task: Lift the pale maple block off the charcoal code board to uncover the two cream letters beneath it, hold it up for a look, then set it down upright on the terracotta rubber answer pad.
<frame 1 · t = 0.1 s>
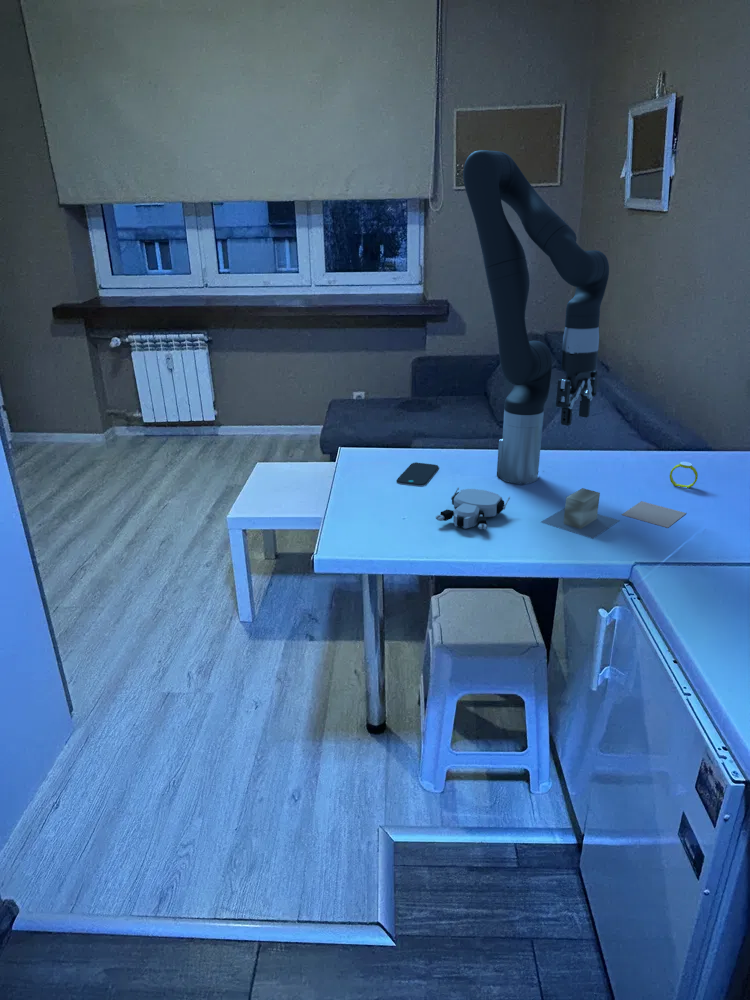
hand: (575, 420, 154), 17 cm above the table, tool pointing down, fingers open, 8 cm apart
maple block: (580, 521, 145), resting on code board
watch: (681, 487, 163), on the table
smartphone: (418, 476, 172), on the table
answer pad: (653, 514, 148), on the table
code board: (580, 522, 145), on the table
robot toy: (471, 520, 147), on the table
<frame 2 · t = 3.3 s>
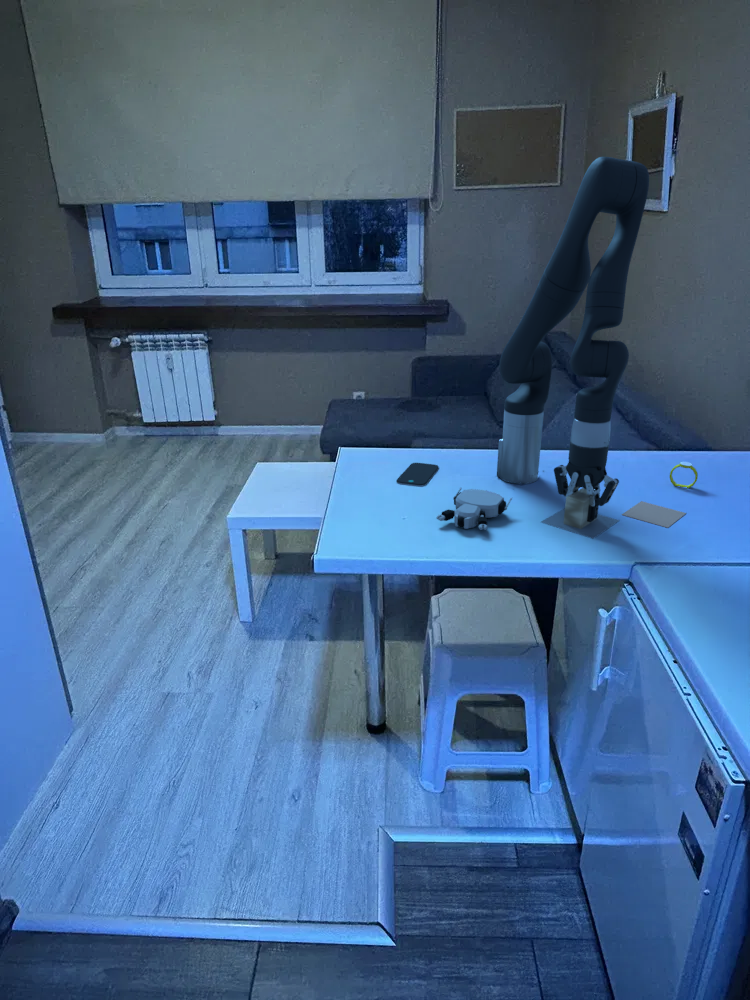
hand: (580, 517, 144), 1 cm above the table, tool pointing down, fingers closed on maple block, 4 cm apart
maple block: (580, 521, 145), resting on code board, touching gripper
everything else where it was.
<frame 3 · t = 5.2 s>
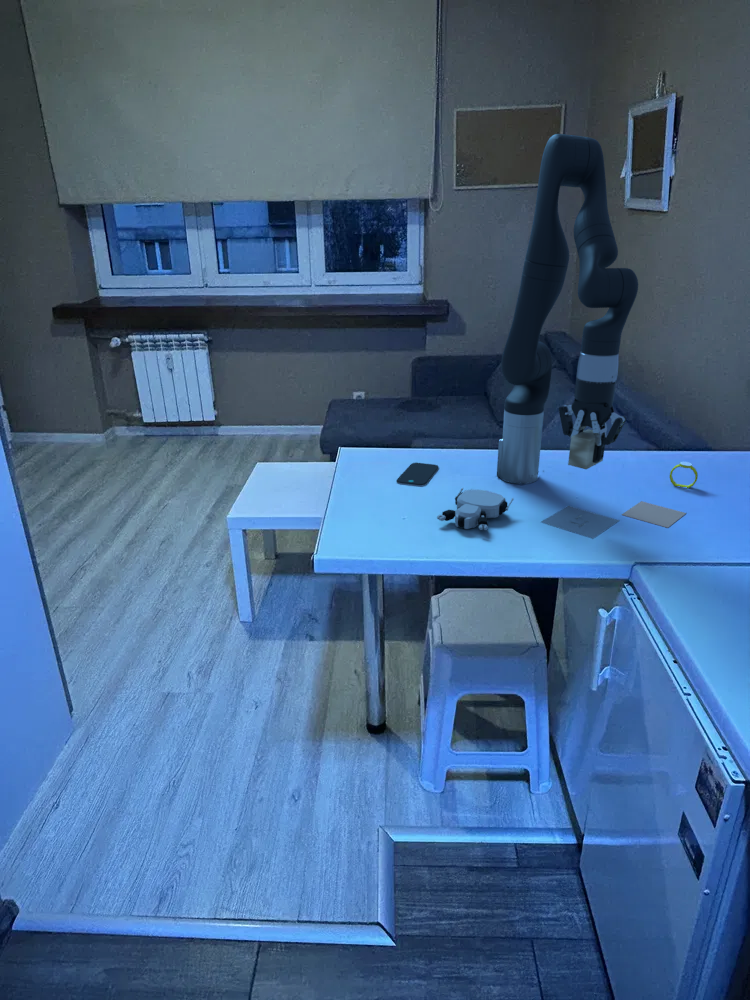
hand: (586, 458, 139), 14 cm above the table, tool pointing down, fingers closed on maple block, 4 cm apart
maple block: (585, 462, 140), point 13 cm above the table, touching gripper
everything else where it was.
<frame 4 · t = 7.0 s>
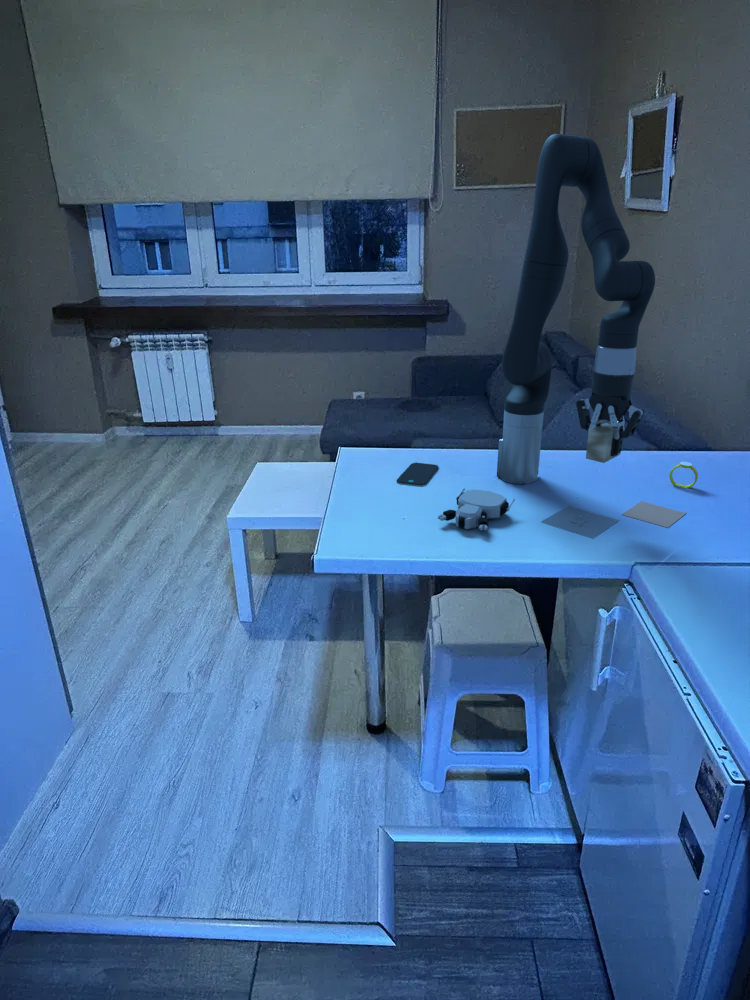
hand: (603, 452, 139), 15 cm above the table, tool pointing down, fingers closed on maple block, 4 cm apart
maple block: (603, 456, 140), point 14 cm above the table, touching gripper
everything else where it was.
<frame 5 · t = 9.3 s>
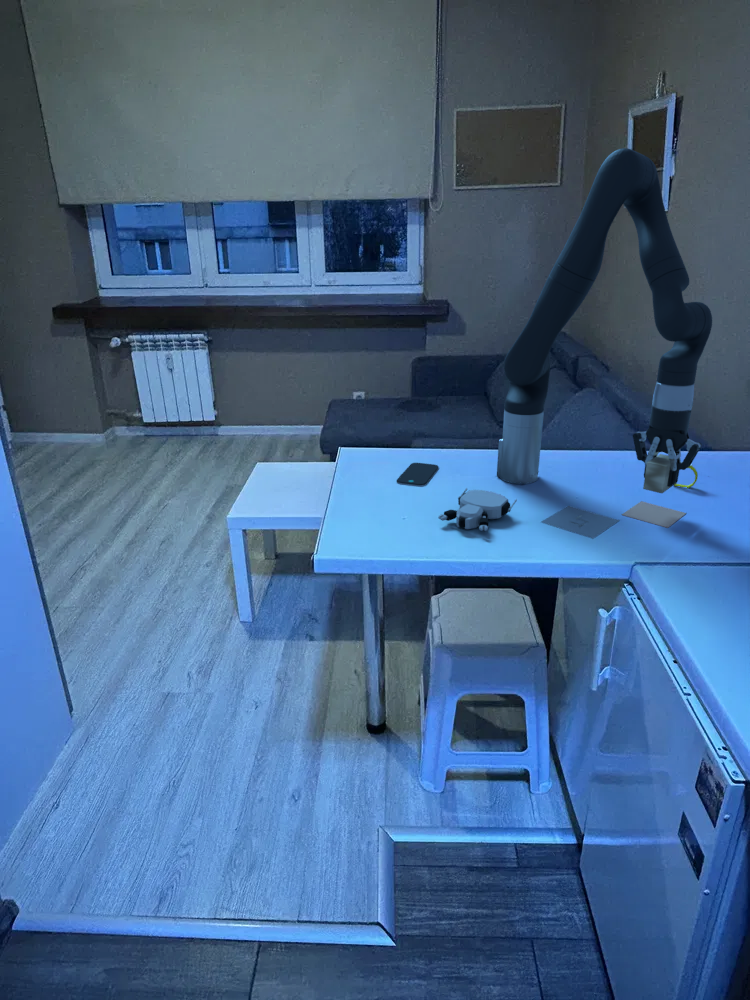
hand: (659, 482, 145), 7 cm above the table, tool pointing down, fingers closed on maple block, 4 cm apart
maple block: (659, 486, 145), point 7 cm above the table, touching gripper
when the fingers open (3 cm above the table, at t = 11.0 s): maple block drops 1 cm, resting on answer pad.
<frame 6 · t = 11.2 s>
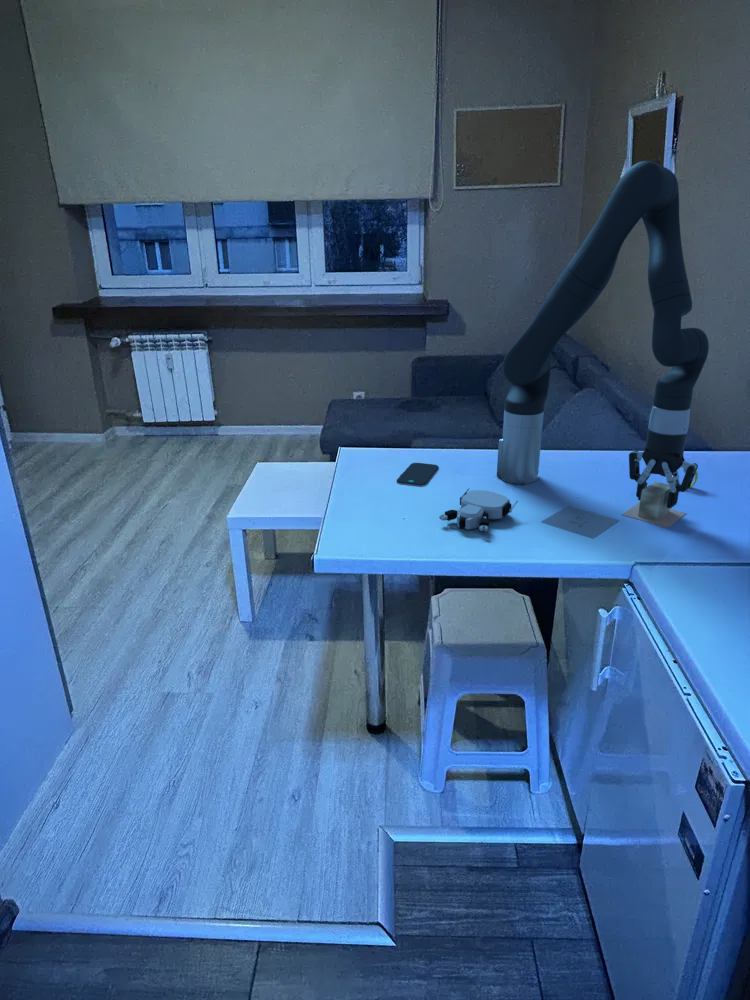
hand: (655, 503, 147), 3 cm above the table, tool pointing down, fingers open, 5 cm apart
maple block: (653, 513, 148), resting on answer pad
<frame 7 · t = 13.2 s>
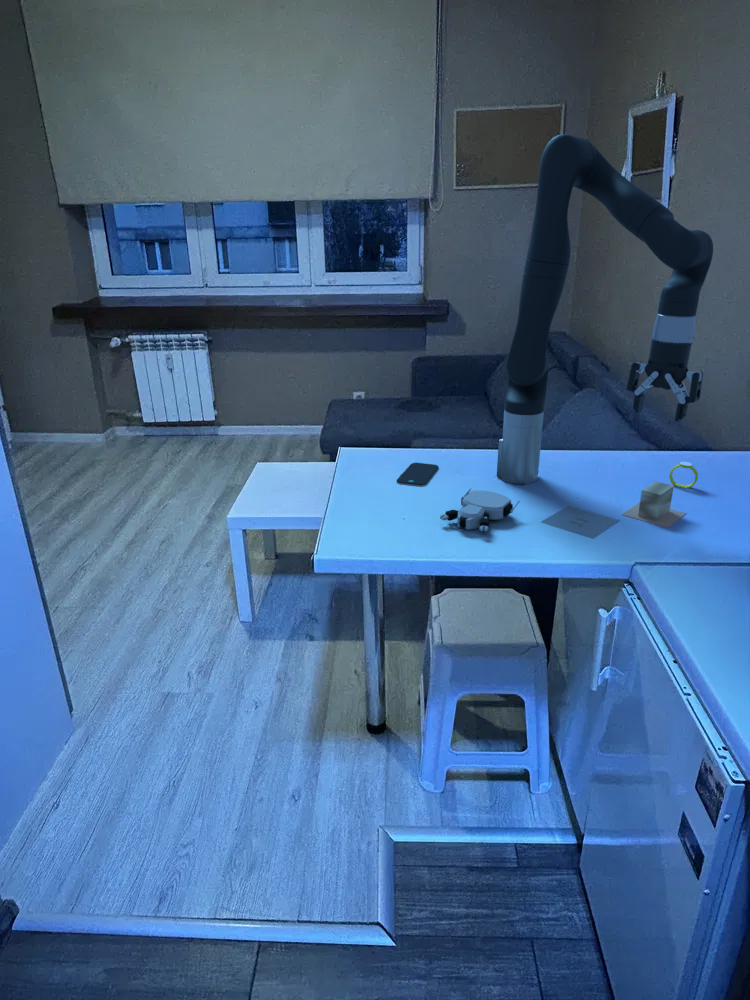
hand: (658, 416, 142), 21 cm above the table, tool pointing down, fingers open, 8 cm apart
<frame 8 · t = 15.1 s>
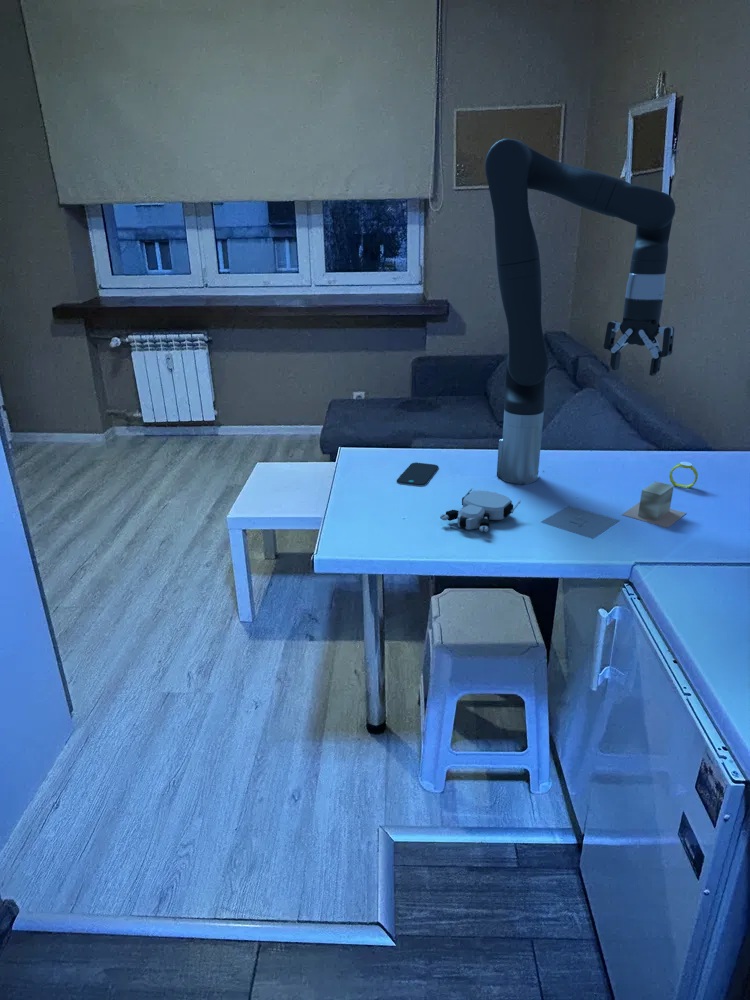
hand: (633, 372, 150), 28 cm above the table, tool pointing down, fingers open, 8 cm apart
at the end: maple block inside the target area on the answer pad (0.0 cm from its centre), point 0.3 cm above the answer pad's base; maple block tilted 0°; the gripper is holding nothing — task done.
